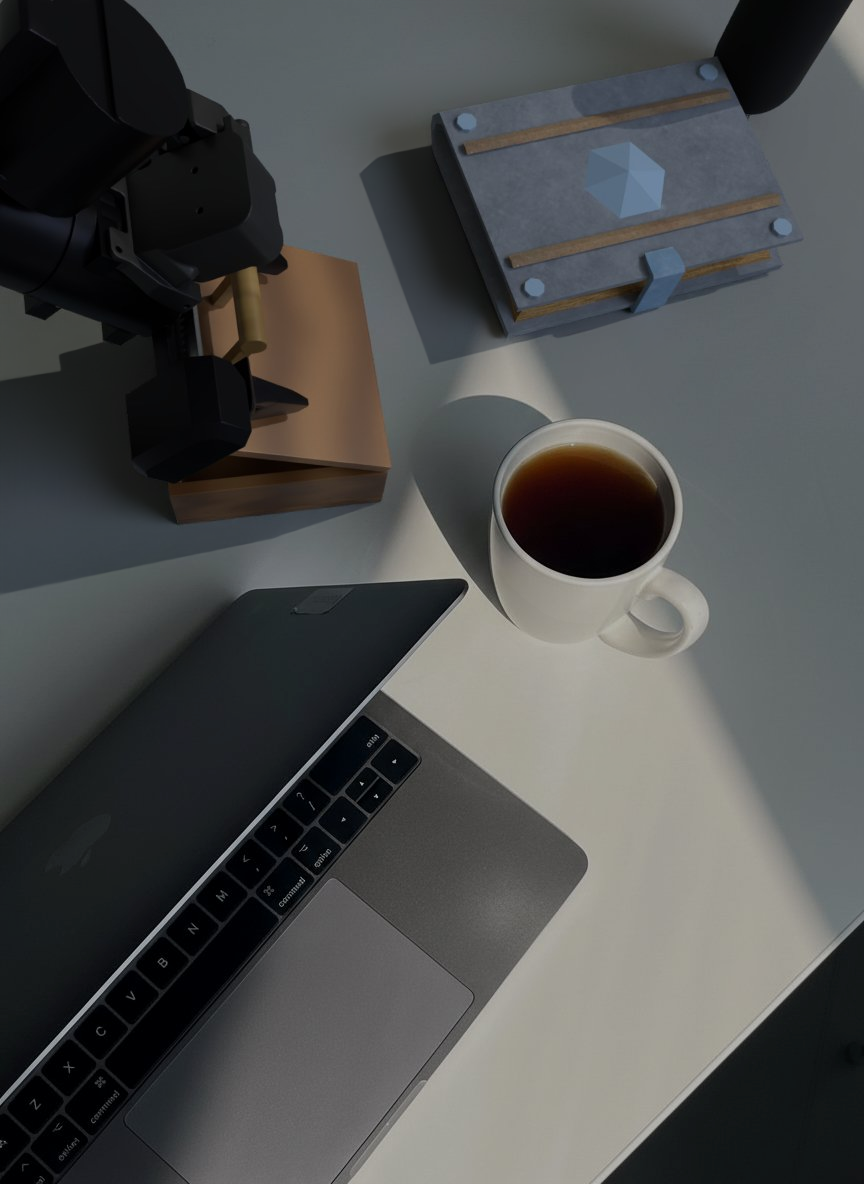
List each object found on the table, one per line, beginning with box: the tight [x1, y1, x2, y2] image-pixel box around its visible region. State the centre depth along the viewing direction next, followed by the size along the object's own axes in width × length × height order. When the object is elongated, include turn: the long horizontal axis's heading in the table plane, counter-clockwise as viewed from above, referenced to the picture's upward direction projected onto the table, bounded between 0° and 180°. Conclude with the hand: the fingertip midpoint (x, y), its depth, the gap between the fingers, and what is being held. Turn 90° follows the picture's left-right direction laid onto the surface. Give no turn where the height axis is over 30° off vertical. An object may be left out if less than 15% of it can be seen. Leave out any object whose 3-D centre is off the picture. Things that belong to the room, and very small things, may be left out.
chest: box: [151, 342, 389, 525], centre depth 63 cm, size 13×14×5 cm
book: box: [430, 56, 805, 339], centre depth 71 cm, size 21×16×5 cm
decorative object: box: [712, 0, 854, 116], centre depth 70 cm, size 7×7×15 cm
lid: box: [196, 244, 393, 472], centre depth 56 cm, size 13×14×5 cm
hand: (292, 336), depth 57 cm, fingers open, 8 cm apart
